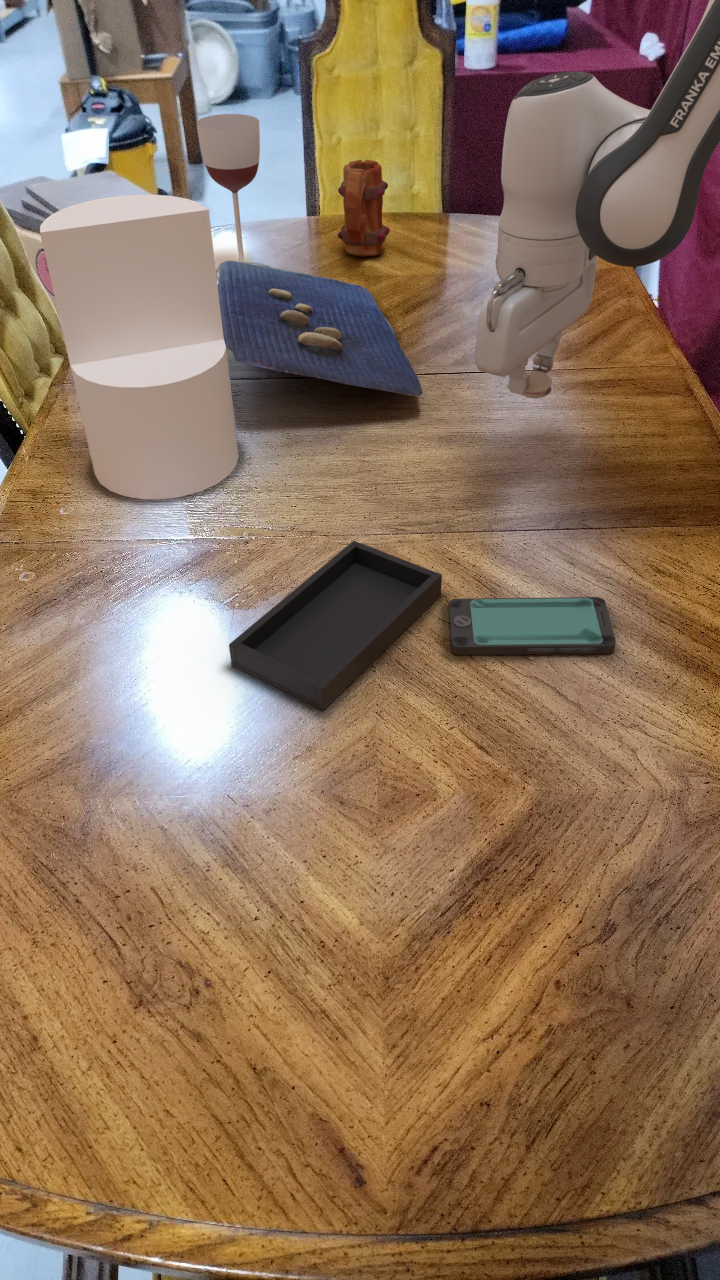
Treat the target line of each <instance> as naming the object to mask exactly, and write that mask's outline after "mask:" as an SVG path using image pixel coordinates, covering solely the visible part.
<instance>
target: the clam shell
mask: <svg viewBox="0 0 720 1280" xmlns="http://www.w3.org/2000/svg"><path fill="white" fill-rule="evenodd" d="M526 374H528V375H530V382H529V384H530V386H529V388H528V389H527V390H526V391H525V392H524V393H523V394H521V395H520V396H522V397H526V398H529V399H537V400H538V399H541V398H542V399H543V398H545V397H547V396H549V395H550V394H551V392H552V384H553V380H552V378H551V376H549V375H548V373H545V372H541V371H533V370H531V371H526ZM506 388H507V389H508V390H509V384H507V385H506Z"/></svg>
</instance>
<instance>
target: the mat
mask: <svg viewBox="0 0 720 1280" xmlns="http://www.w3.org/2000/svg"><path fill="white" fill-rule="evenodd" d="M254 264H255V263H247V262H244V263H243V262H239V261H237V260H226V261H223V262H221V263H220V264H219V265H218V267H217V268H218V271H219V278H218V279H217V285H218V294H219V302H220V311H221V319H222V328H223V336H224V342H225V345H226V349H228V350H230V351H231V352H232V354H233V357H234V359H235V361H236V362H238V363H243V364H246V365H248V366H249V365H250V366H254V367H259V368H263V369H268V370H273V371H276V372H282V373H288V374H293V375H299V376H304V377H312V378H316V379H322V380H326V381H330V382H335V383H339V384H344V385H347V386H348V385H349V386H354V387H359V388H367V389H372V390H378V391H384V392H390V393H396V394H400V395H401V394H402V395H407V396H416V397H417V396H418V397H419V396H421V395H423V388H422V386H421V382H420V379H419V377H418V374H417V373H416V371H415V369H414V368H413V367H412V364H411V363H410V360H409V359H408V357H407V355H406V354H405V352H404V350H403V349H402V346H401V345H400V343H399V341H398V338H397V332H396V329H395V328H394V327H393V325H392V324H391V323H390V322H389V320H388V318H386V316H385V315H384V313H383V311H381V309H380V306H379V305H378V302H376V300H375V297H374V296H373V294H372V293H371V292H370V291H369V290H368V289H367V288H365V287H364V286H361V285H358V284H354V283H350V282H345V281H343V280H342V281H341V280H337V279H334V278H330V277H324V276H317V275H313V274H308V273H304V272H298V271H292V270H287V269H282V268H277V267H270V266H264V265H261V266H259V265H260V264H258V265H254Z"/></svg>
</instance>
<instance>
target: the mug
mask: <svg viewBox="0 0 720 1280" xmlns="http://www.w3.org/2000/svg"><path fill="white" fill-rule="evenodd" d="M342 170H343V171H342V172H343V174H342V175H343V180H342V182H341V183H340V186H339V188H338V189H337V192H338V194H339V195H340V196H342V197H343V199H342V200H343V201H342V203H343V204H342V205H343V211H344V212H343V213H344V215H343V216H344V225H343V226H341V228H340V231H339V232H338V233H337V238H339V240H341V242H342V243H344V250H345V252H346V253H347V254H349V255H351V256H354V257H374V256H377V255H379V254H381V253H382V251H383V244H384V243H385V242H386V239H387V236H388V235H389V234H390V232H391V230H390V228H389V227H388V226H385V225H384V224H383V205H384V204H383V203H384V197H383V196H384V195H385V193H386V190H387V189H388V187H389V184H388V182H386V181H384V180H383V173H382V170H383V168H382V165H381V164H379V162H378V161H375V160H371V159H365V160H364V161H363V160H362V159H358V160H352V161H349V162H348V163H347V164H345V165H344V166H343V169H342Z"/></svg>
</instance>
